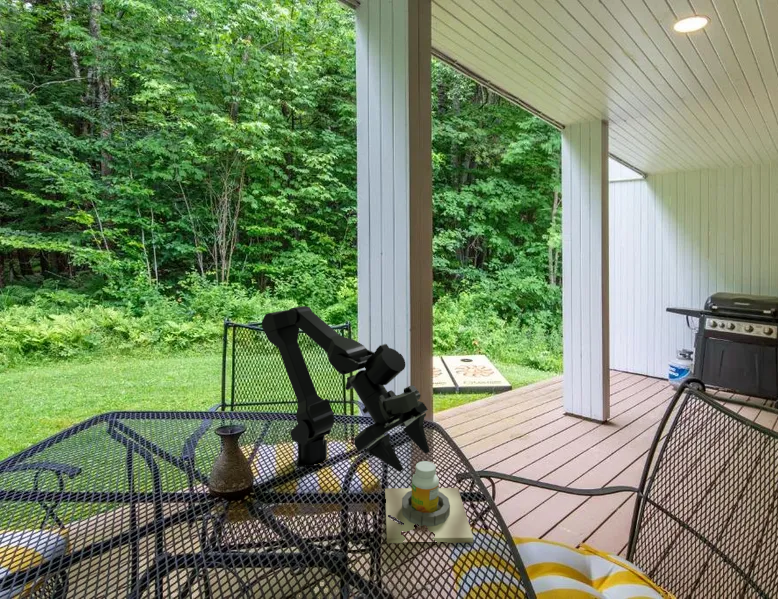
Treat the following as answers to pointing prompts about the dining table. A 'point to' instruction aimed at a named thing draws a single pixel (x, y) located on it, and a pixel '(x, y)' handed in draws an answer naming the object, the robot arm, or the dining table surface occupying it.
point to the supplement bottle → (425, 488)
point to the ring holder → (427, 516)
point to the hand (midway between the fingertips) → (415, 461)
